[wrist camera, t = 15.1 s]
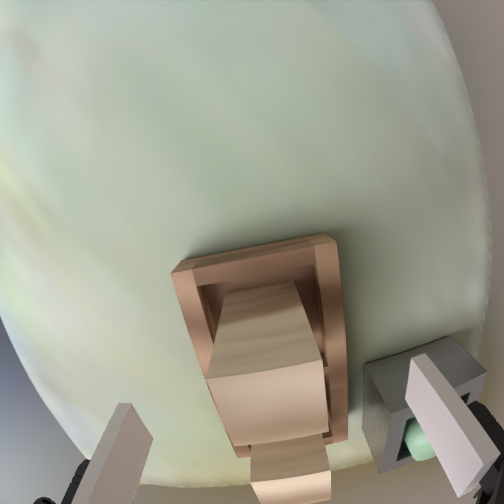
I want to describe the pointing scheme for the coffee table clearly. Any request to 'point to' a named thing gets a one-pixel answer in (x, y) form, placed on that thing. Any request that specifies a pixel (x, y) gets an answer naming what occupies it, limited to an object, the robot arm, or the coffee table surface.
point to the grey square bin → (394, 391)
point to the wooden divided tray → (267, 273)
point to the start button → (417, 441)
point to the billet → (267, 367)
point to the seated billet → (291, 471)
